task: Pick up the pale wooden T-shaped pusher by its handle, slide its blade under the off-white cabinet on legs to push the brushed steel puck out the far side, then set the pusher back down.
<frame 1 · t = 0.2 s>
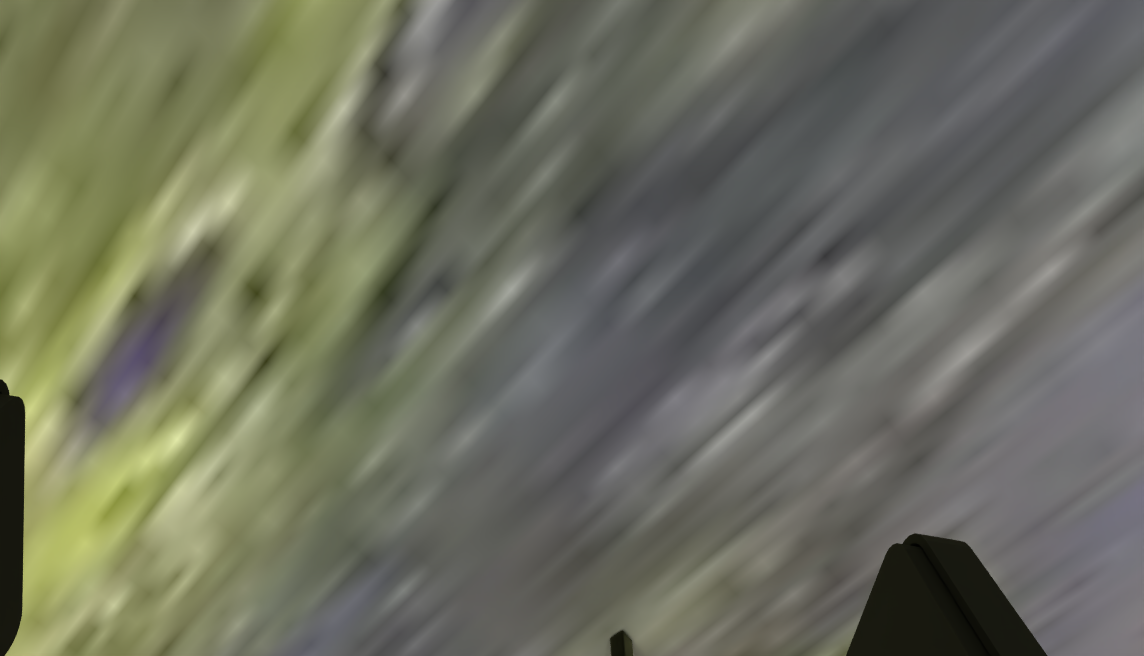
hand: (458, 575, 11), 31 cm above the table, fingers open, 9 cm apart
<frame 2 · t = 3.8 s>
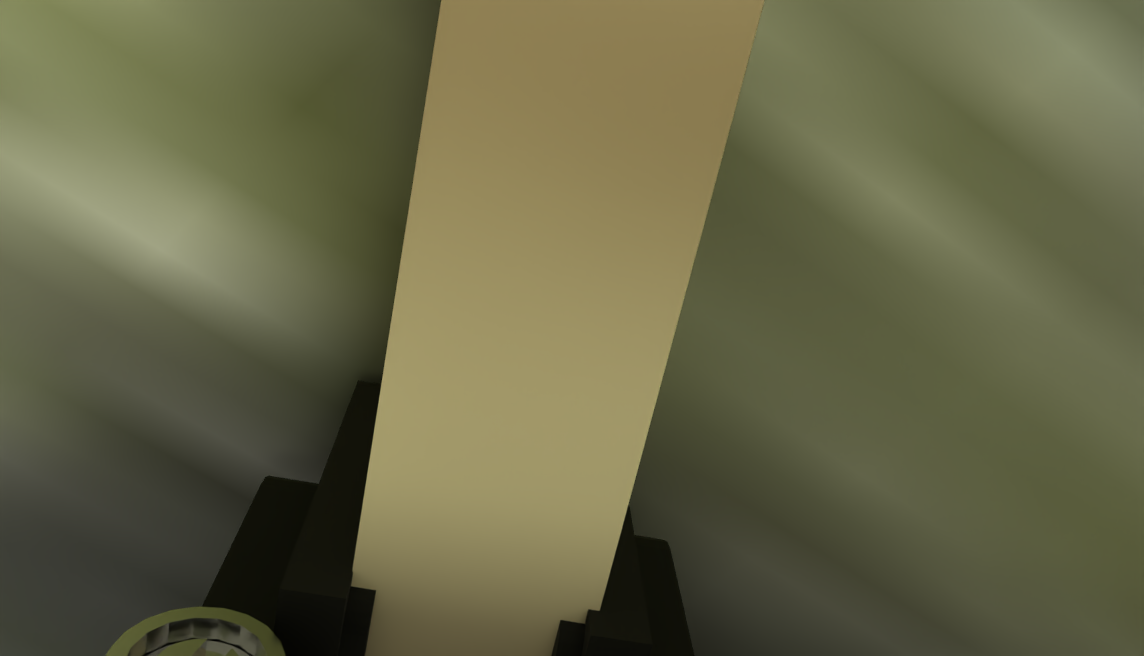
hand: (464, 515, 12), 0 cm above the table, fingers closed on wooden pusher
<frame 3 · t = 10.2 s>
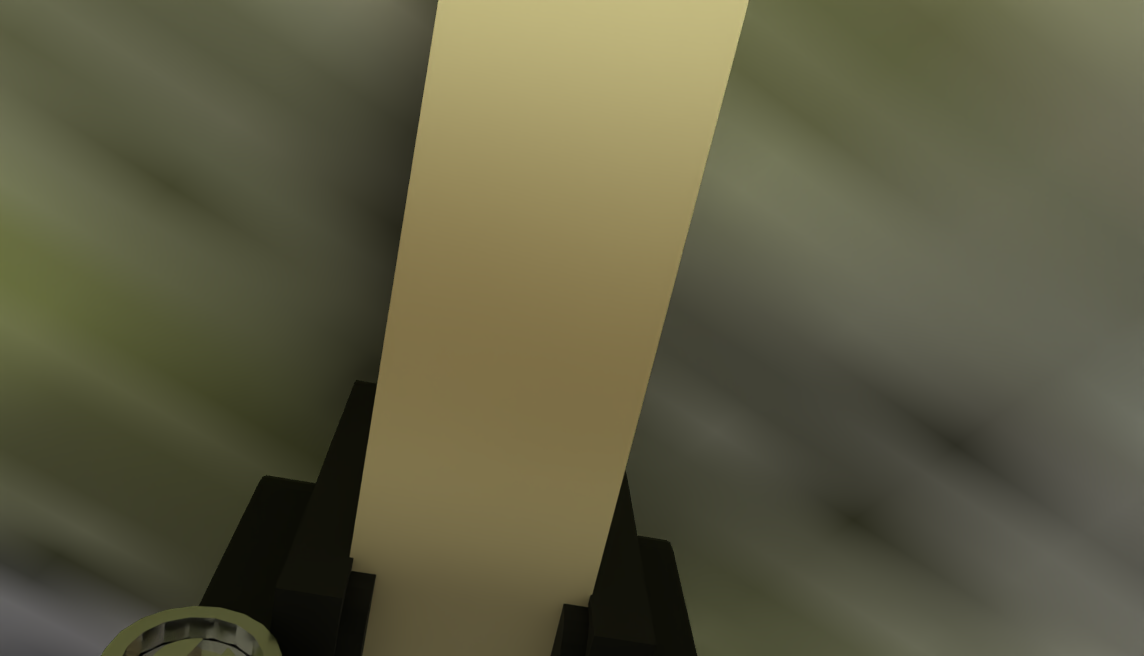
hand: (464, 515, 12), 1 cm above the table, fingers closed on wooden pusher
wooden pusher: (523, 210, 11), on the table, touching gripper
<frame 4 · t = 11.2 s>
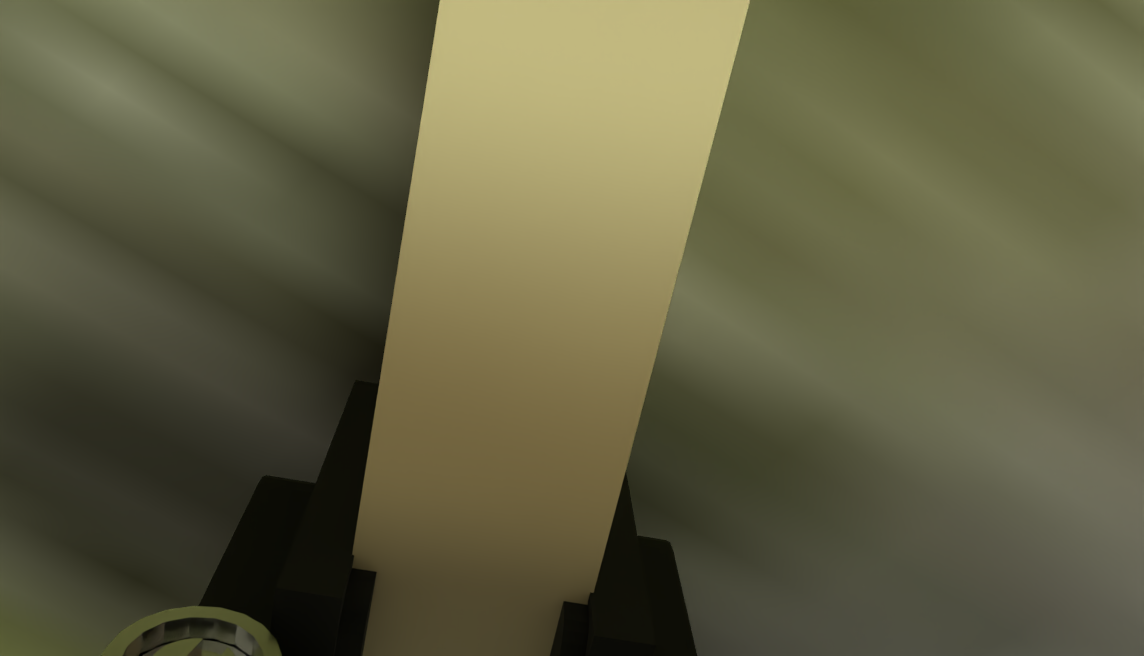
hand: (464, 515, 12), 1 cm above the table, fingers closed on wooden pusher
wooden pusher: (512, 278, 11), on the table, touching gripper
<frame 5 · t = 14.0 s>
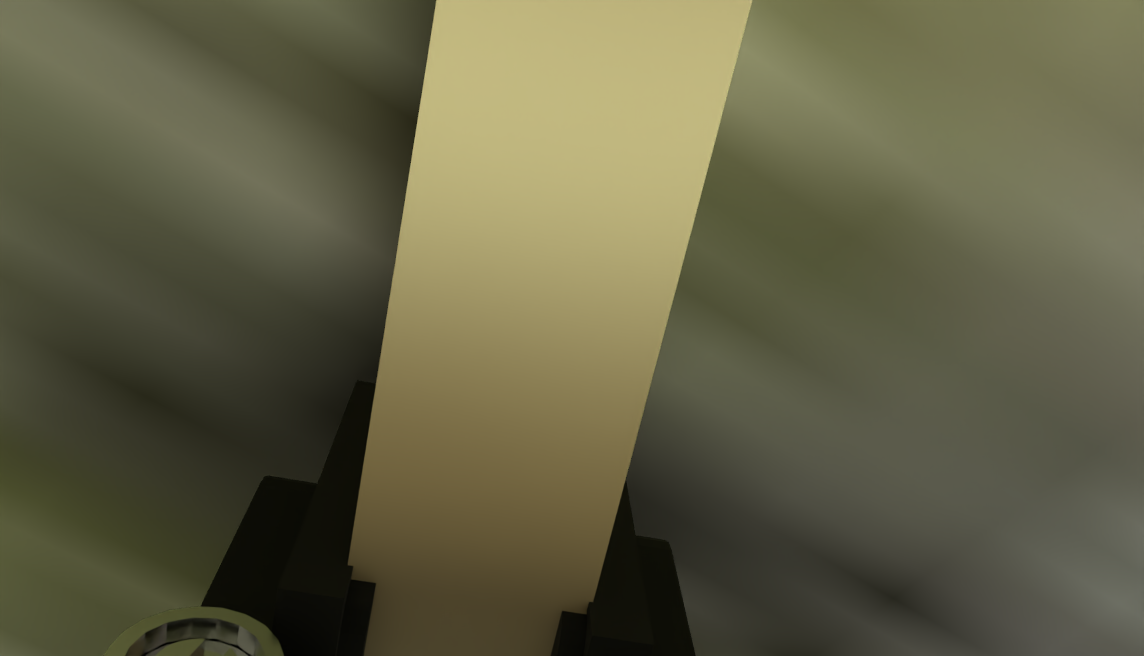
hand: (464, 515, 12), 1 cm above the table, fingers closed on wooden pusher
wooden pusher: (498, 329, 11), on the table, touching gripper
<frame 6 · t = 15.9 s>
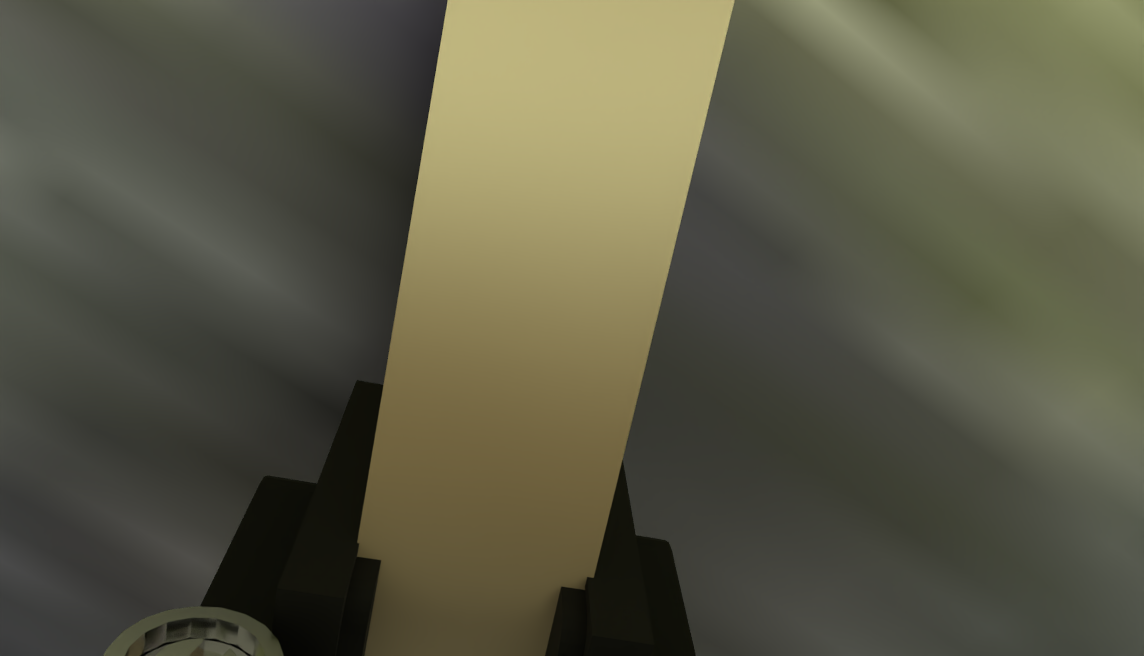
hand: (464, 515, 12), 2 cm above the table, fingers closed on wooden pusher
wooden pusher: (497, 321, 12), point 1 cm above the table, touching gripper
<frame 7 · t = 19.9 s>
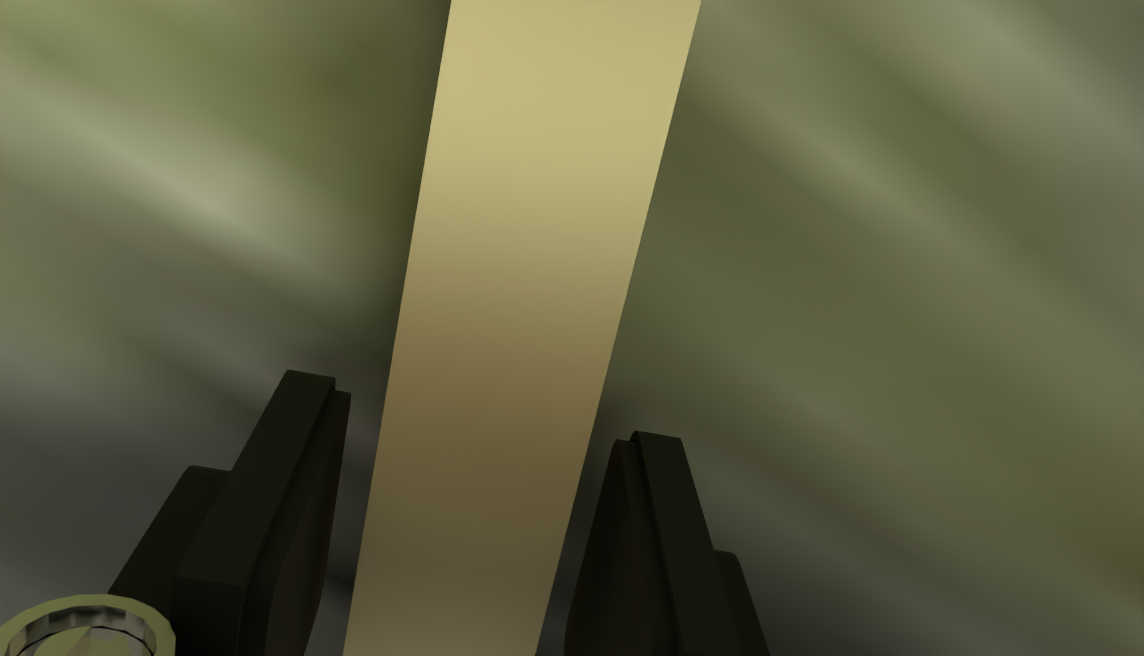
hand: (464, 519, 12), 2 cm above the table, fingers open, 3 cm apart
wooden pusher: (497, 289, 13), on the table
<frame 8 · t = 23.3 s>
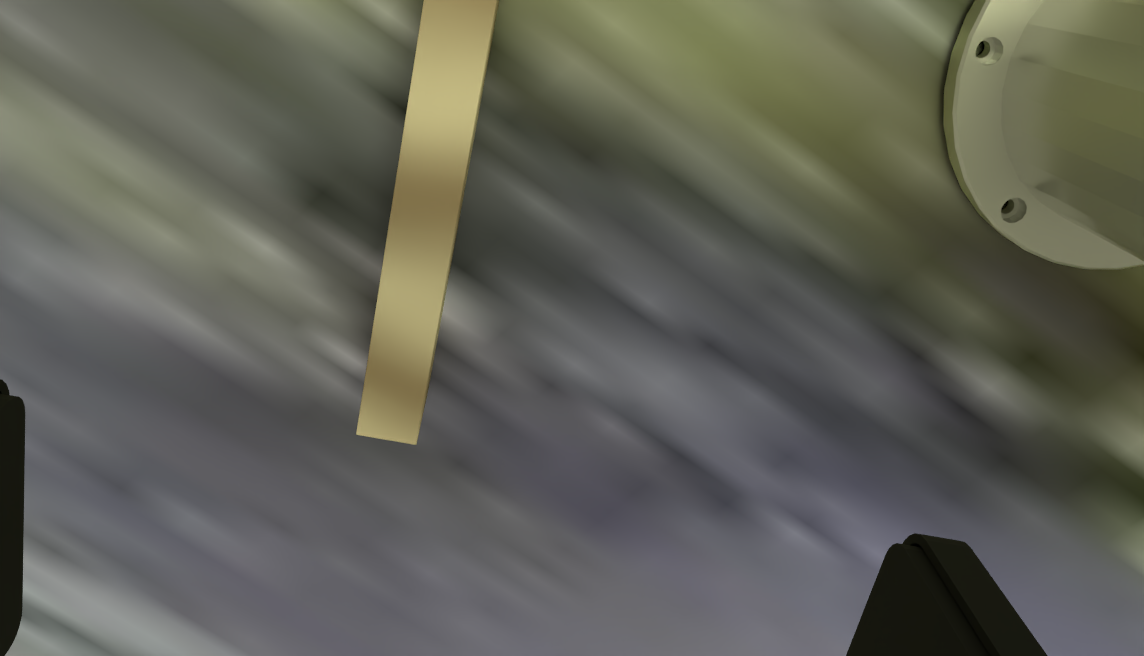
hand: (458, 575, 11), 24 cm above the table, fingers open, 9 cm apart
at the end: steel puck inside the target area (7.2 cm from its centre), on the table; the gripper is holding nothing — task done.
